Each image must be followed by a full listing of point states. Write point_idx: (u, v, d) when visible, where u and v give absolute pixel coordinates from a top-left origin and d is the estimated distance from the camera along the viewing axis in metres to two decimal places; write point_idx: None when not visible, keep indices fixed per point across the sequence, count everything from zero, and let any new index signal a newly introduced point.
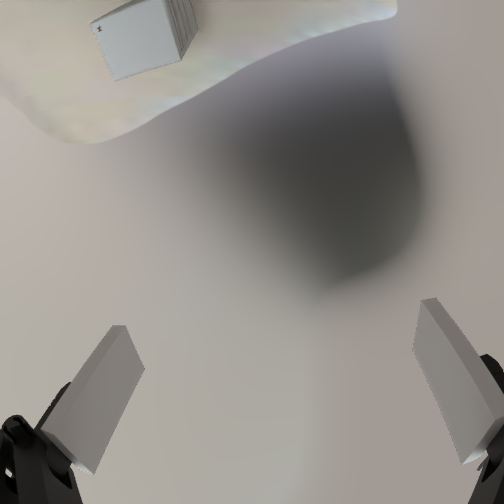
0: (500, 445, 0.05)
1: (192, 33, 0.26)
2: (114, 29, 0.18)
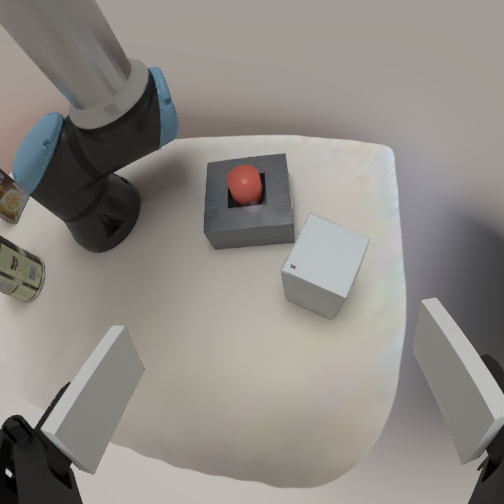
0: (500, 445, 0.05)
1: None
2: (305, 257, 0.30)
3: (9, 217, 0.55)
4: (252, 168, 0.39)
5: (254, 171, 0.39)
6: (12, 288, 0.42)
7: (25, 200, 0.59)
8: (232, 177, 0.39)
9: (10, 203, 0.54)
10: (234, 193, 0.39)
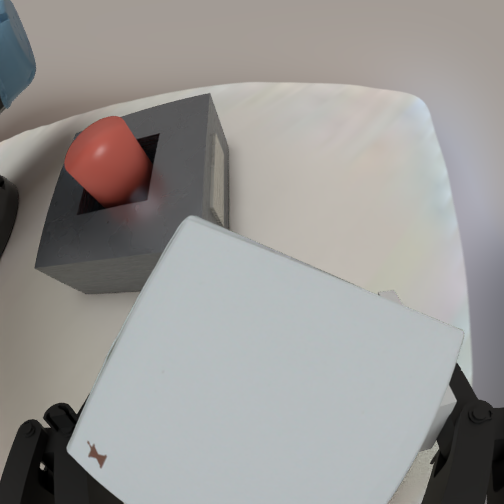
0: (447, 439, 0.06)
1: None
2: (139, 433, 0.05)
3: None
4: (117, 121, 0.15)
5: (118, 126, 0.15)
6: None
7: None
8: (77, 146, 0.15)
9: None
10: (76, 180, 0.15)
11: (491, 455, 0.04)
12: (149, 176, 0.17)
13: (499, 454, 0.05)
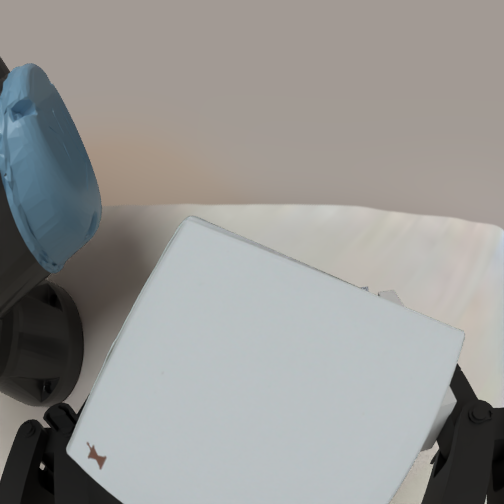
0: (447, 439, 0.06)
1: None
2: (138, 434, 0.05)
3: None
4: None
5: None
6: None
7: None
8: None
9: None
10: None
11: (491, 455, 0.04)
12: None
13: (499, 454, 0.05)
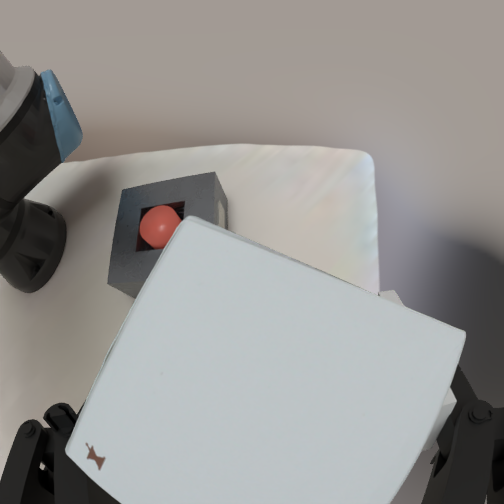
0: (447, 439, 0.06)
1: None
2: (137, 435, 0.05)
3: None
4: (170, 210, 0.30)
5: (172, 214, 0.30)
6: None
7: None
8: (146, 223, 0.30)
9: None
10: (149, 243, 0.30)
11: (491, 455, 0.04)
12: None
13: (499, 454, 0.05)
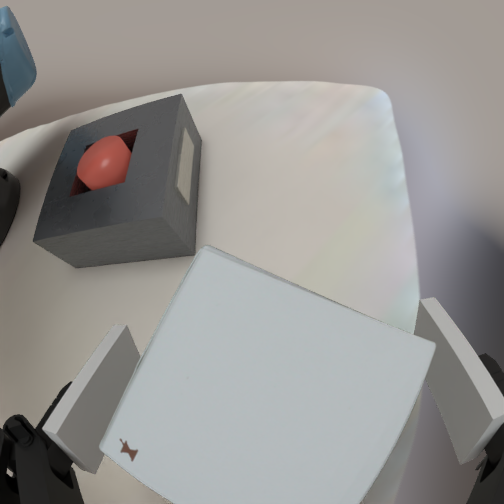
0: (498, 445, 0.05)
1: None
2: (167, 429, 0.06)
3: None
4: (117, 139, 0.20)
5: (118, 144, 0.20)
6: None
7: None
8: (86, 159, 0.20)
9: None
10: None
11: None
12: None
13: None
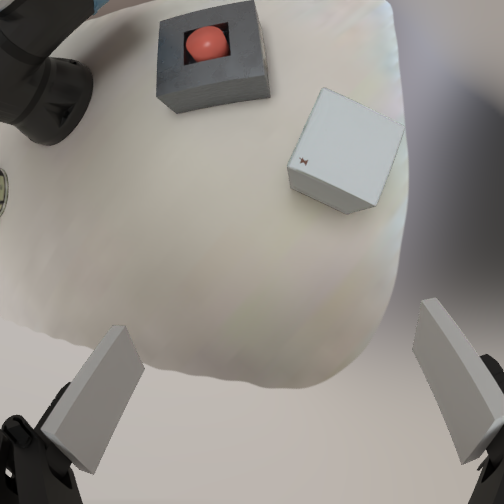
0: (500, 445, 0.05)
1: None
2: (320, 148, 0.20)
3: None
4: (215, 29, 0.26)
5: (218, 32, 0.26)
6: None
7: None
8: (192, 41, 0.27)
9: None
10: (196, 57, 0.28)
11: None
12: (230, 54, 0.30)
13: None
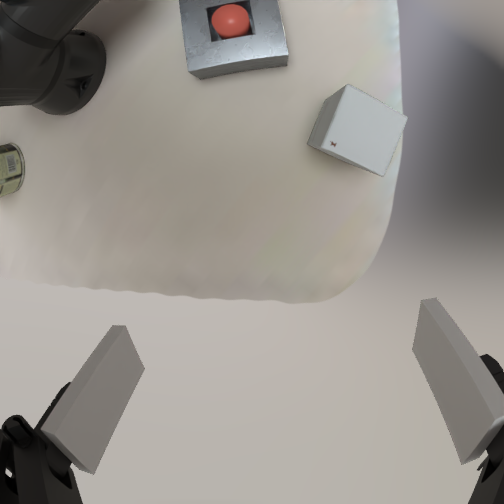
0: (500, 445, 0.05)
1: None
2: (345, 134, 0.26)
3: None
4: (239, 7, 0.26)
5: (242, 11, 0.26)
6: None
7: None
8: (218, 19, 0.27)
9: None
10: (222, 34, 0.28)
11: None
12: (250, 27, 0.30)
13: None
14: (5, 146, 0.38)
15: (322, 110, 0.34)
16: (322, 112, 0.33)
